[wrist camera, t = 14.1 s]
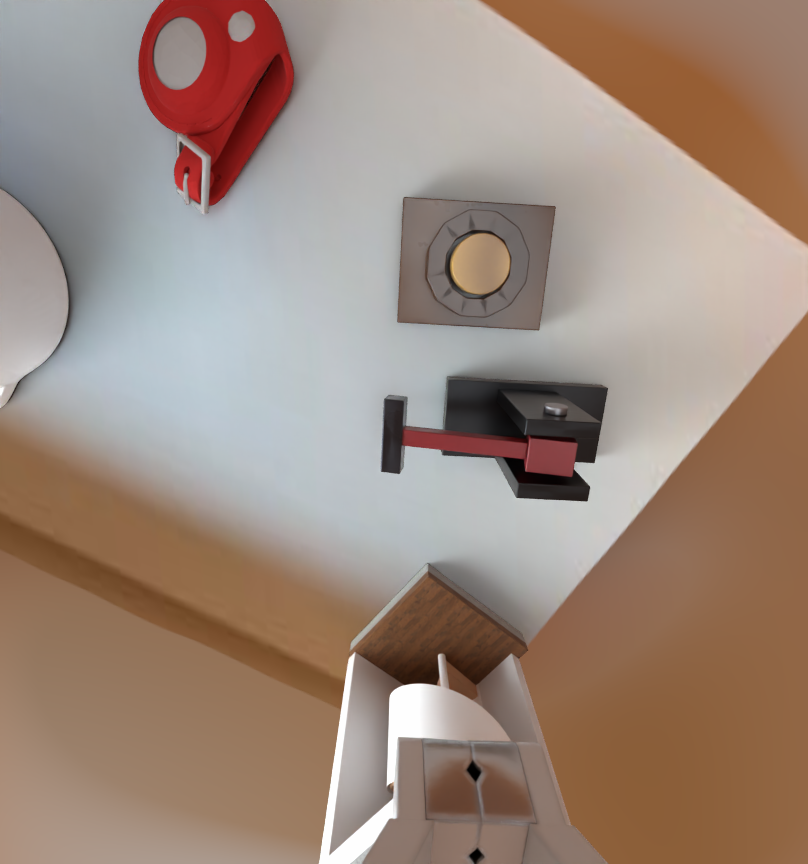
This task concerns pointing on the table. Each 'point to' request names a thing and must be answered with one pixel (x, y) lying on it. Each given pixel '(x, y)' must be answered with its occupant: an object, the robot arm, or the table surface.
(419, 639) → the display case
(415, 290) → the block
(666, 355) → the table surface
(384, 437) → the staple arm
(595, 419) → the black lever base
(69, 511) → the table surface
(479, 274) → the bell button
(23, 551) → the table surface
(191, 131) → the tracker holder
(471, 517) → the table surface
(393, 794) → the robot arm
